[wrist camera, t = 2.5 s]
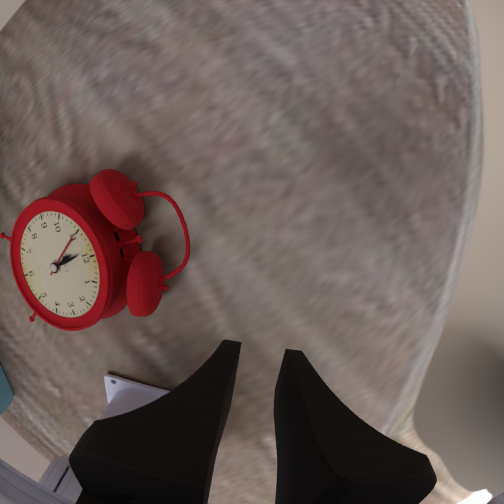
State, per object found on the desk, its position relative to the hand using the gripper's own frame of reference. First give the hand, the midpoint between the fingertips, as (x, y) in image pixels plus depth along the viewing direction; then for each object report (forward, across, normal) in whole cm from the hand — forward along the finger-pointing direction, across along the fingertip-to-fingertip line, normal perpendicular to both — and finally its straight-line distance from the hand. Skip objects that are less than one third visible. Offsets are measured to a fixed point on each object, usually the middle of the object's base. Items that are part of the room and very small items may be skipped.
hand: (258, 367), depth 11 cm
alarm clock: (+10, +12, 0) cm, 16 cm away
